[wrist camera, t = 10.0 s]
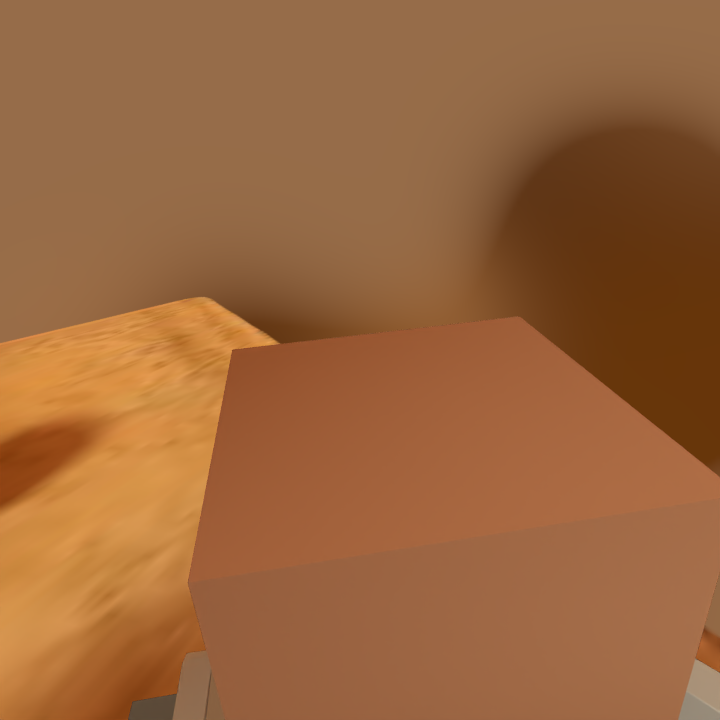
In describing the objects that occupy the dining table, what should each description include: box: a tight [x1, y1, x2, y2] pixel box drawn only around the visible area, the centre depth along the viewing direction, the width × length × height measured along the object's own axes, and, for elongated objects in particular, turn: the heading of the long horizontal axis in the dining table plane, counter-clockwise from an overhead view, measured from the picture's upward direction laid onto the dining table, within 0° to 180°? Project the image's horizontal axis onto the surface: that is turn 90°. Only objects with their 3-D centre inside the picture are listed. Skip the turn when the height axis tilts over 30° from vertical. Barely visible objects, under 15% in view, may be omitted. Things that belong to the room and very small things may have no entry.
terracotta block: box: [188, 316, 720, 720], centre depth 9 cm, size 5×5×12 cm
